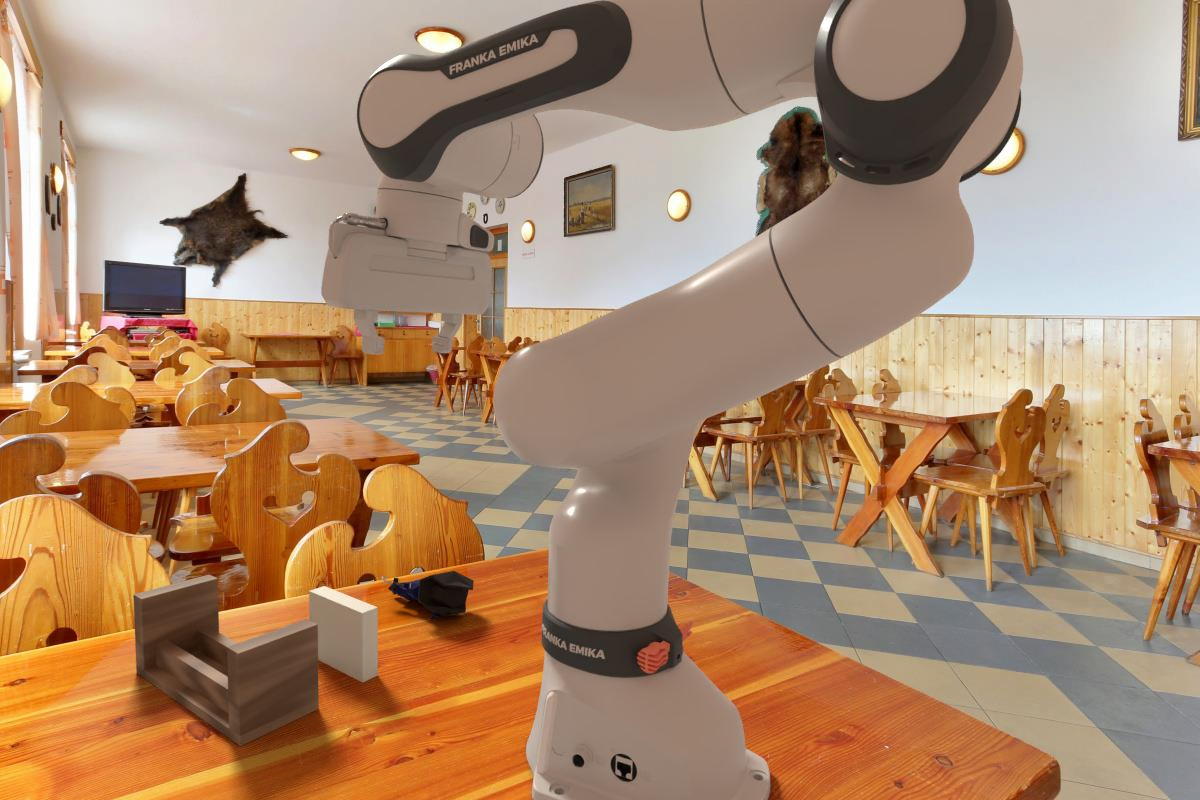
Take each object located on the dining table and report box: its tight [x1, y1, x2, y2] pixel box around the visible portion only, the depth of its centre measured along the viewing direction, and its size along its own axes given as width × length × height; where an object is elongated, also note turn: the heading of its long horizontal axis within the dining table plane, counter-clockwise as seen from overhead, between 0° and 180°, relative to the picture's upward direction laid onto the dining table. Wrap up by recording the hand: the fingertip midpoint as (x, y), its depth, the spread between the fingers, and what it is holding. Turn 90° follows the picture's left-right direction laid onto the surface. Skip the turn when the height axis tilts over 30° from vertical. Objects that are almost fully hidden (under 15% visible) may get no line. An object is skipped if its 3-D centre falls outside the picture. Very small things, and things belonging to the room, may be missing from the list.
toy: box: [381, 570, 475, 620], centre depth 95 cm, size 9×6×15 cm
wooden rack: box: [133, 574, 320, 747], centre depth 73 cm, size 22×8×9 cm, turn 55°
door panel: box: [308, 585, 379, 683], centre depth 79 cm, size 10×2×8 cm, turn 55°
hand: (408, 353), depth 76 cm, fingers open, 8 cm apart
